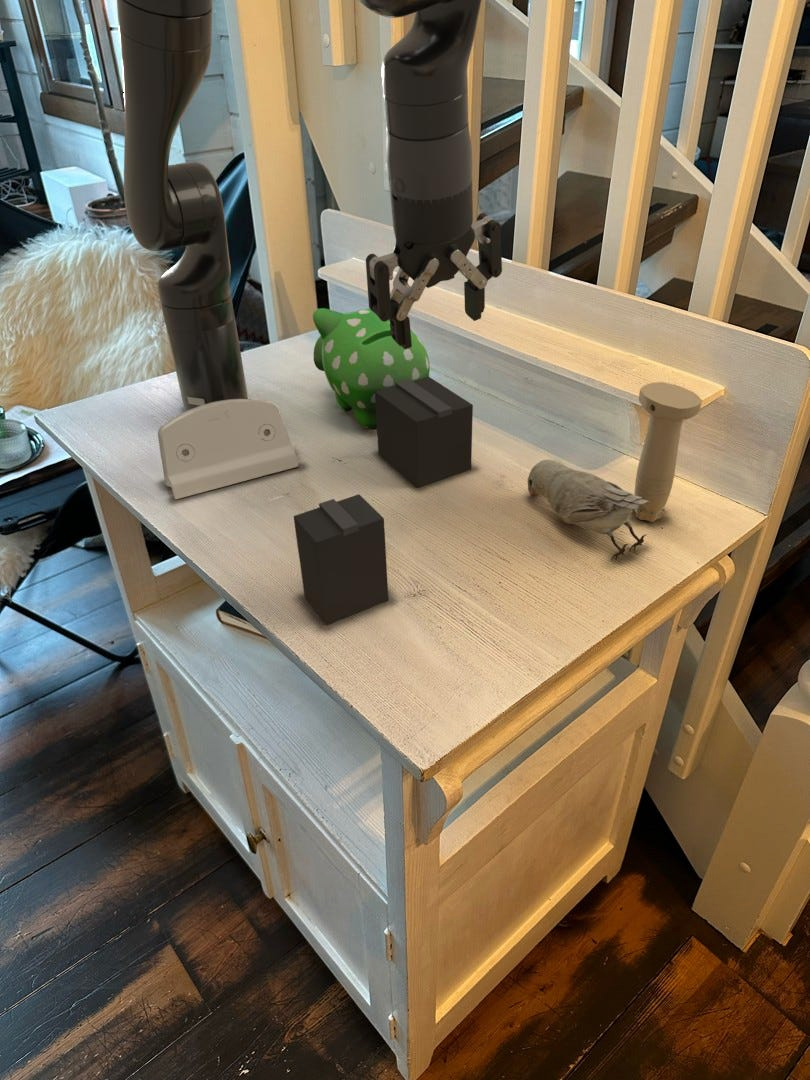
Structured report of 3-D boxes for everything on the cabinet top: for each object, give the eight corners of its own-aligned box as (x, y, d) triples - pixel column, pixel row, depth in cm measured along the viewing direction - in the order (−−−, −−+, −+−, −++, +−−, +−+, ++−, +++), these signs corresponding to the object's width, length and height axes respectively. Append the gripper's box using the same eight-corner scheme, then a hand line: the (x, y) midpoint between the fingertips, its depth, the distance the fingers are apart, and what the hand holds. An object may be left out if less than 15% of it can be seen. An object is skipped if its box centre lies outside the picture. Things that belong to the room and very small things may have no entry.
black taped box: (378, 453, 100) (374, 388, 95) (429, 437, 103) (428, 373, 98) (417, 487, 93) (416, 419, 88) (471, 469, 96) (473, 401, 91)
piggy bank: (387, 376, 120) (382, 281, 111) (448, 420, 107) (449, 316, 99) (304, 398, 115) (293, 299, 106) (359, 447, 102) (351, 339, 93)
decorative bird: (547, 488, 92) (552, 433, 88) (651, 552, 81) (663, 493, 77) (513, 503, 90) (517, 447, 85) (616, 571, 79) (626, 511, 75)
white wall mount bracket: (172, 500, 92) (149, 419, 89) (167, 494, 96) (144, 416, 93) (301, 465, 98) (283, 388, 95) (291, 461, 102) (274, 387, 99)
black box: (304, 597, 77) (292, 512, 71) (365, 573, 80) (358, 490, 74) (326, 625, 73) (315, 538, 67) (388, 600, 76) (384, 514, 70)
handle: (653, 535, 84) (678, 412, 75) (612, 508, 88) (630, 389, 79) (684, 521, 86) (711, 400, 77) (642, 496, 90) (663, 378, 81)
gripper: (474, 140, 72) (476, 292, 84) (341, 185, 68) (363, 337, 81) (520, 168, 68) (514, 324, 80) (380, 217, 64) (397, 373, 76)
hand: (438, 330), depth 80 cm, fingers open, 8 cm apart
